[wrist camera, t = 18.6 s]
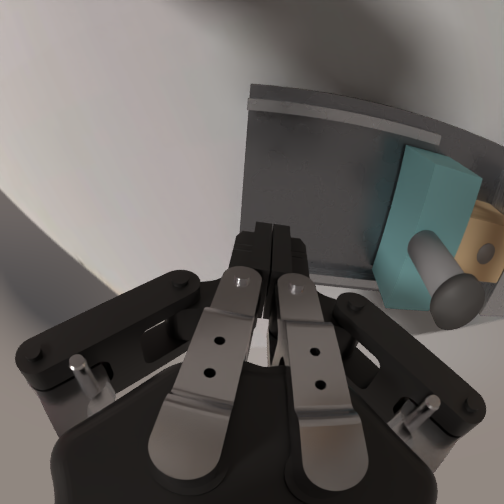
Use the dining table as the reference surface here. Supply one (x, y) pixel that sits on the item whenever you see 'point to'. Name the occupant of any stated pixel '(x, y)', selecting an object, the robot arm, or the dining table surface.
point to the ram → (429, 240)
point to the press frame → (347, 176)
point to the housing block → (483, 244)
